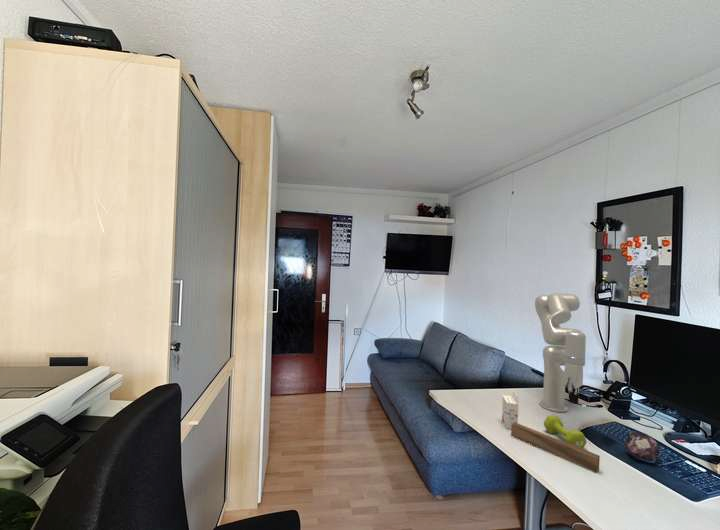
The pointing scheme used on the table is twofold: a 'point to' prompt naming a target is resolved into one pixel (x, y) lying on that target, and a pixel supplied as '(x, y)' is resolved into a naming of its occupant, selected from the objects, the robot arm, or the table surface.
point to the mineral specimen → (642, 446)
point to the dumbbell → (564, 431)
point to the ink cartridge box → (510, 410)
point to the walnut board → (557, 447)
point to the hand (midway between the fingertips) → (573, 402)
